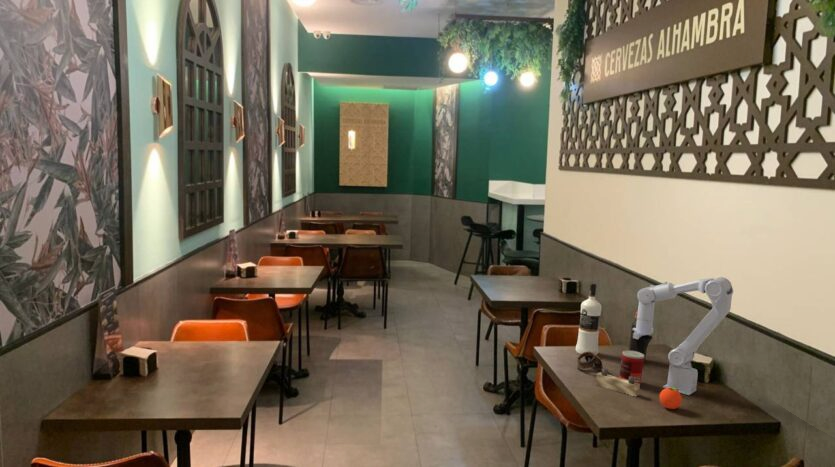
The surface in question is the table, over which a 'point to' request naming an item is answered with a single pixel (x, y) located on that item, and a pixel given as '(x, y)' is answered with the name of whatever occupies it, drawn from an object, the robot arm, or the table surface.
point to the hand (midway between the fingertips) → (641, 354)
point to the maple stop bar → (617, 383)
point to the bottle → (632, 341)
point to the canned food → (631, 365)
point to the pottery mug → (589, 361)
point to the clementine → (670, 398)
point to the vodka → (589, 323)
